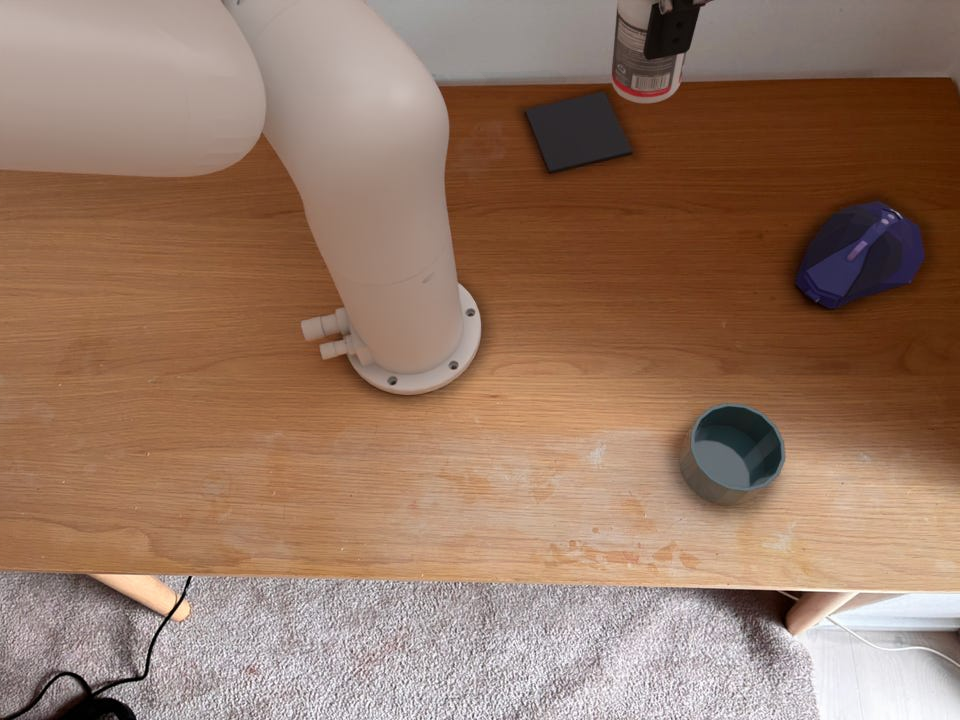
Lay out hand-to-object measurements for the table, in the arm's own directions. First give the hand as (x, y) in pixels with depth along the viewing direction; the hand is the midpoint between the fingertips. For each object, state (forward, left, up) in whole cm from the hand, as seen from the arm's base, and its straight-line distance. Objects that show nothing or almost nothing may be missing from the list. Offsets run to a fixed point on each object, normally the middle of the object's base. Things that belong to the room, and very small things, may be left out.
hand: (651, 22), depth 49 cm
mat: (0, +11, -21) cm, 24 cm away
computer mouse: (+20, -12, -22) cm, 32 cm away
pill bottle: (0, 0, -5) cm, 5 cm away
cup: (0, -27, -21) cm, 34 cm away
